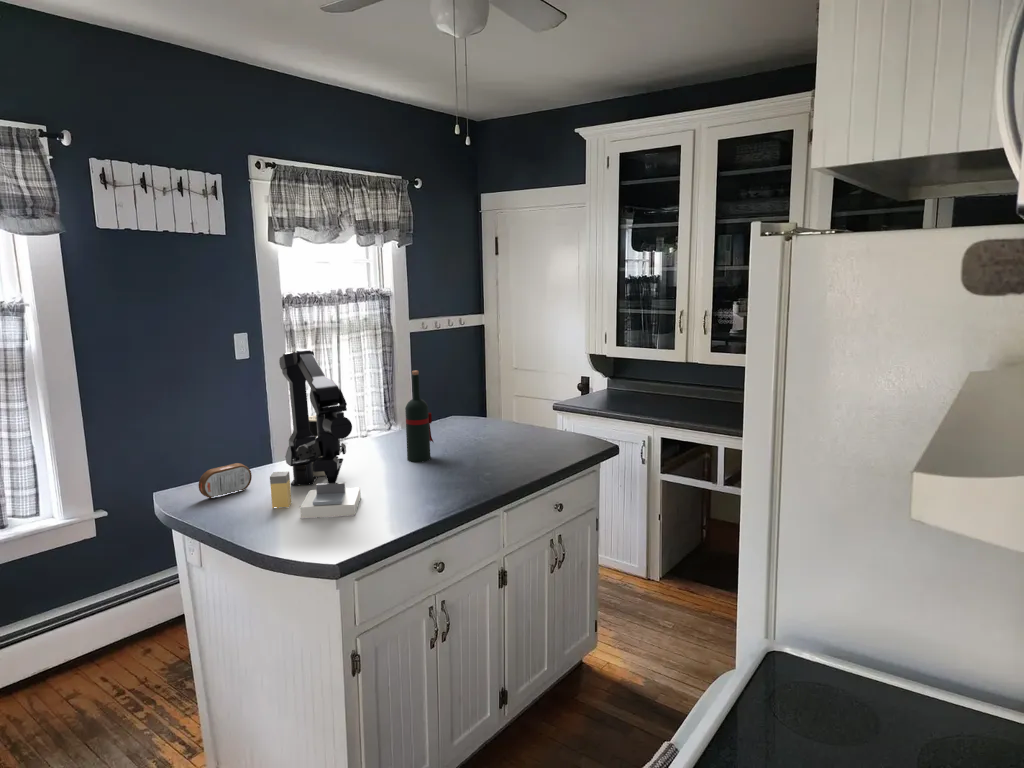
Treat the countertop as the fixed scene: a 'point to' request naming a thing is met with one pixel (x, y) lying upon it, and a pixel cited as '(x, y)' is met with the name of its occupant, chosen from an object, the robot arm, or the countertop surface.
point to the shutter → (329, 493)
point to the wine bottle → (418, 425)
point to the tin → (224, 480)
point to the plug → (280, 489)
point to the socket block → (331, 505)
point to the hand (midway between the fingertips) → (332, 487)
